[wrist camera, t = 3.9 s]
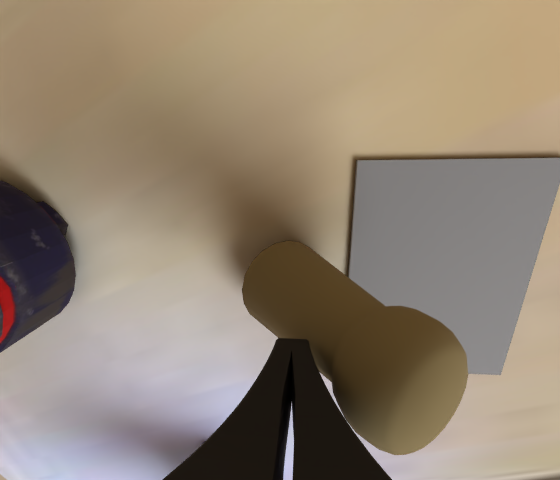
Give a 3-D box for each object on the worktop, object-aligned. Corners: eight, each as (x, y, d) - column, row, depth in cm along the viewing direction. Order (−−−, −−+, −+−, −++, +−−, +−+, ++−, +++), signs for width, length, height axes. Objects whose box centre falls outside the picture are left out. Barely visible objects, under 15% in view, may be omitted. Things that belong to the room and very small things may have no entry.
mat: (497, 370, 21) (500, 375, 21) (341, 363, 22) (342, 367, 21) (561, 157, 16) (567, 157, 16) (356, 160, 17) (357, 160, 16)
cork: (240, 332, 18) (361, 525, 8) (243, 243, 16) (396, 352, 7) (316, 315, 20) (471, 444, 11) (324, 238, 19) (511, 311, 10)
